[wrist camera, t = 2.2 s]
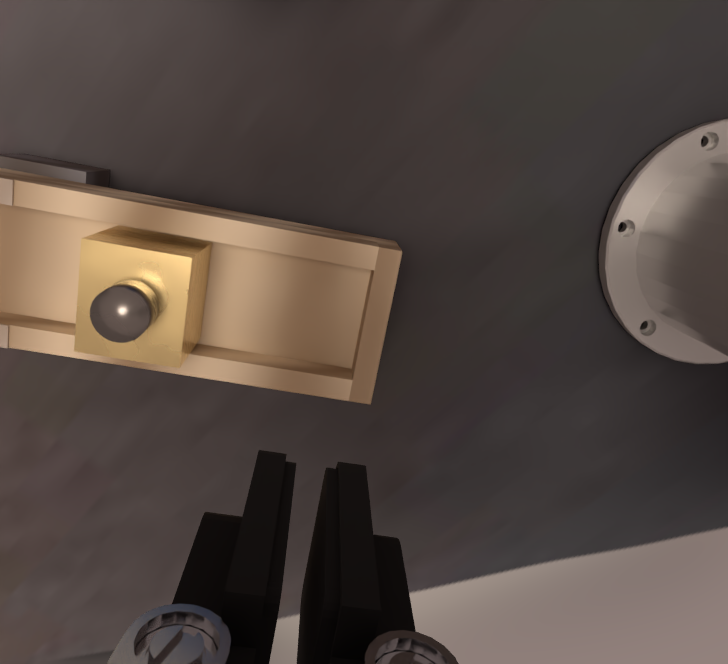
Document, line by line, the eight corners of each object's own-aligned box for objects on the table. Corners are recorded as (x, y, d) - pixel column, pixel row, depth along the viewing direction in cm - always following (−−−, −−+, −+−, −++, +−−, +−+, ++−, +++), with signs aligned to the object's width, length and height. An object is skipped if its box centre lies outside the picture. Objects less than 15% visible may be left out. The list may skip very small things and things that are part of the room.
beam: (391, 223, 31) (405, 240, 25) (362, 368, 33) (368, 415, 28) (-294, 93, 28) (-459, 79, 22) (-277, 264, 30) (-424, 292, 24)
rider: (212, 242, 27) (182, 265, 21) (200, 337, 28) (169, 382, 22) (117, 225, 26) (64, 244, 21) (109, 323, 27) (57, 364, 22)
